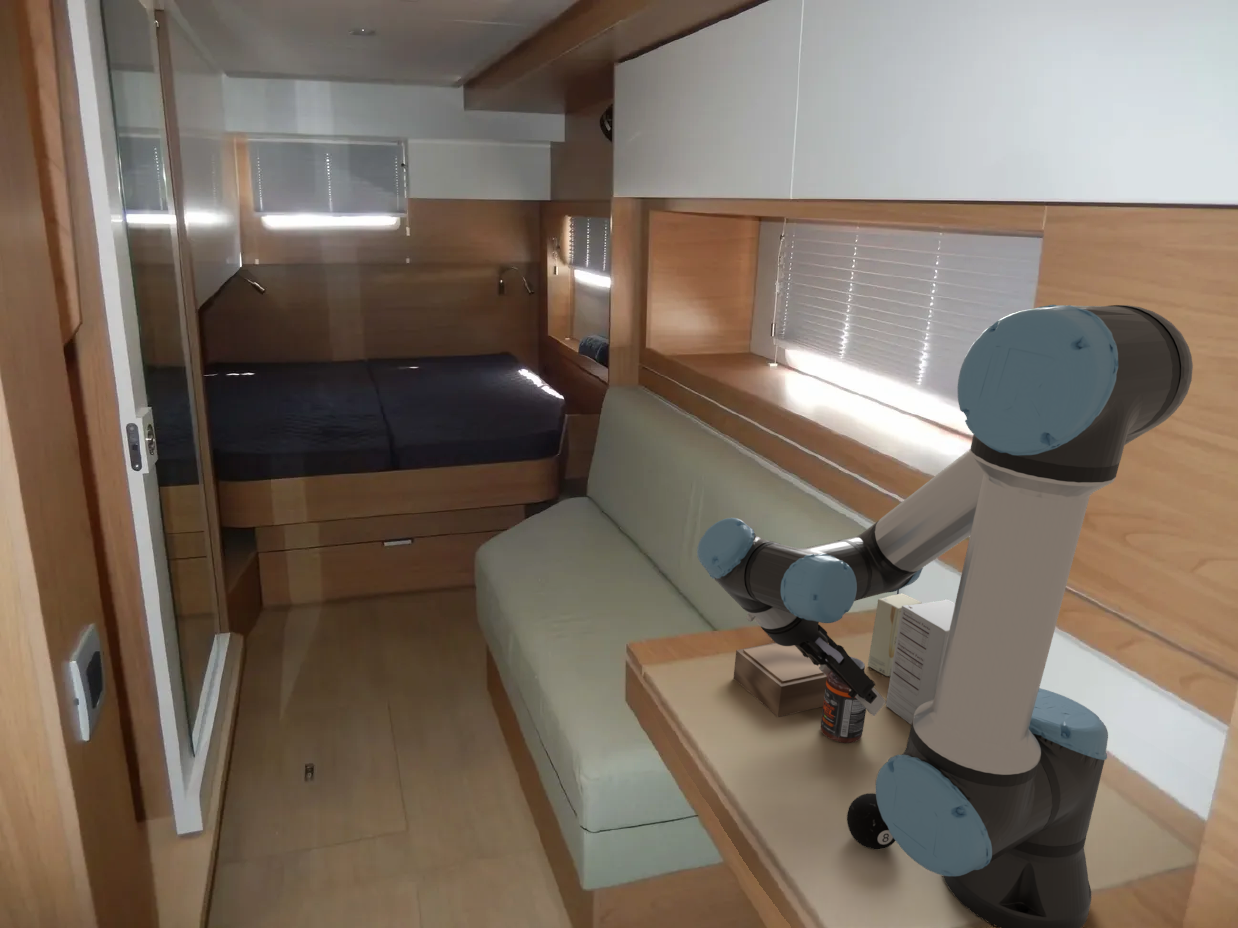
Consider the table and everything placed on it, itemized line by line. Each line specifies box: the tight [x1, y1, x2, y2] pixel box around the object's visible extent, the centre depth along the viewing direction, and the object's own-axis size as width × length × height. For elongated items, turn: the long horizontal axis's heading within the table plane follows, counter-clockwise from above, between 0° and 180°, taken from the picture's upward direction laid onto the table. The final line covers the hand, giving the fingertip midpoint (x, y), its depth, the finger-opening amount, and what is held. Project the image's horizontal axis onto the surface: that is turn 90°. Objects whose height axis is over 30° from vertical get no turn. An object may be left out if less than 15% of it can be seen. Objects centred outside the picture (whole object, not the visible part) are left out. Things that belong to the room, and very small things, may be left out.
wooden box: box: [733, 642, 827, 717], centre depth 138 cm, size 12×12×5 cm
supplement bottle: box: [820, 656, 867, 744], centre depth 126 cm, size 6×6×11 cm
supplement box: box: [885, 598, 955, 725], centre depth 132 cm, size 10×9×17 cm
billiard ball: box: [846, 792, 896, 851], centre depth 105 cm, size 6×6×6 cm
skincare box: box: [867, 592, 923, 677], centre depth 147 cm, size 6×4×12 cm
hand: (862, 695), depth 128 cm, fingers closed on supplement bottle, 6 cm apart
